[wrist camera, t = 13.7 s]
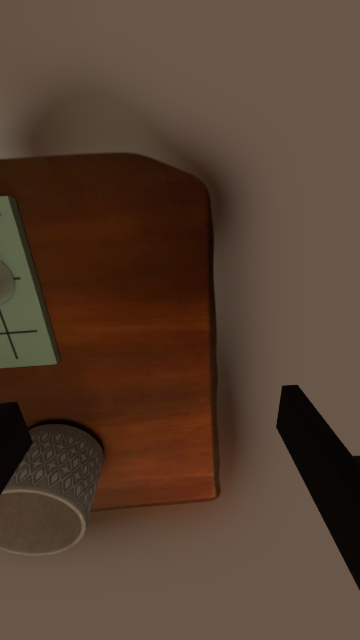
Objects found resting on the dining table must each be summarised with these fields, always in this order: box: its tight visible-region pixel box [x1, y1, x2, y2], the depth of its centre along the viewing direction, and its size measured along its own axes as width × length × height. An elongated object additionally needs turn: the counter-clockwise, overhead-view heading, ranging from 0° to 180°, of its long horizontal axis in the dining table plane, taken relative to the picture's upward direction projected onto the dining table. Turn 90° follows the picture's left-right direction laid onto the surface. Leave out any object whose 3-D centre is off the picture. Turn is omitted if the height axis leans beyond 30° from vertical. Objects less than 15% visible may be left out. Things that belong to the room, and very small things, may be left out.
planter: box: [0, 424, 104, 556], centre depth 41 cm, size 16×16×13 cm
